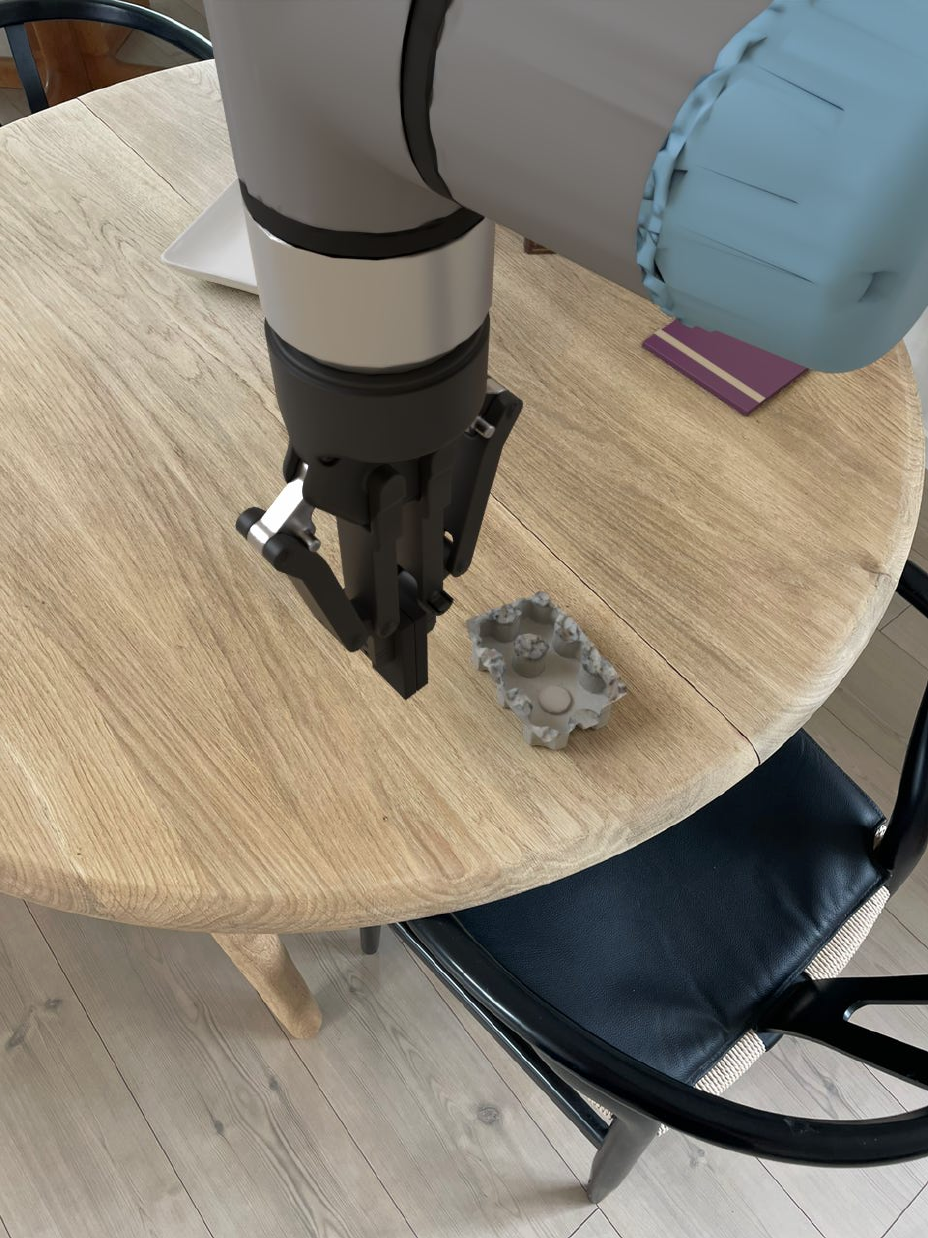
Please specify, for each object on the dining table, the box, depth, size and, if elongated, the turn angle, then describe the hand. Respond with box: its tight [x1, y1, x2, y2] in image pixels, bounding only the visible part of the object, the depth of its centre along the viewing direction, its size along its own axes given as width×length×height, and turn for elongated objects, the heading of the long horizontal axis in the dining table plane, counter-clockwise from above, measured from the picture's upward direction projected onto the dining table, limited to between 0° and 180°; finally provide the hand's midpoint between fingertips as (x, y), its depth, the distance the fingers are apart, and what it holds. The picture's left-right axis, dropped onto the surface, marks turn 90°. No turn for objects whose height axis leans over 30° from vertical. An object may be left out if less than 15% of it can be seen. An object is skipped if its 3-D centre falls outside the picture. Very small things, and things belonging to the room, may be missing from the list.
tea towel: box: [641, 318, 810, 417], centre depth 88 cm, size 12×12×1 cm
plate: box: [160, 175, 259, 296], centre depth 93 cm, size 21×21×3 cm
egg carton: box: [465, 590, 628, 751], centre depth 66 cm, size 11×8×4 cm
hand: (400, 675), depth 51 cm, fingers closed
